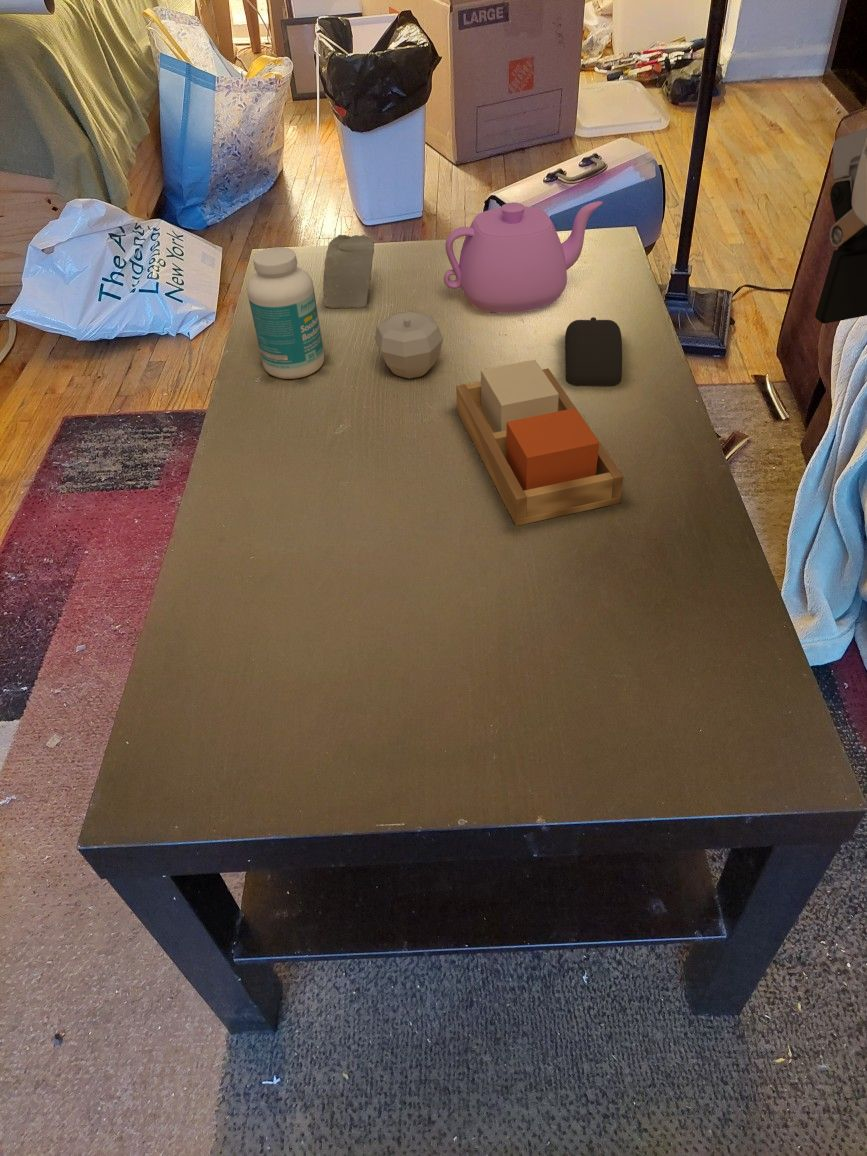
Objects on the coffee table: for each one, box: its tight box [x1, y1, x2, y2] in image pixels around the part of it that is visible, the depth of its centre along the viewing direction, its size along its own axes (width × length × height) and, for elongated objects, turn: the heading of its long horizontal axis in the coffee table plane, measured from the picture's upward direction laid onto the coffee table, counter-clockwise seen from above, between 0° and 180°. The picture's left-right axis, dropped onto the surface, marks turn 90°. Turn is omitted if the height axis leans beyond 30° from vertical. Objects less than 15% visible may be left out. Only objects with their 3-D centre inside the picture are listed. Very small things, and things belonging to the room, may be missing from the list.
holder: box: [455, 367, 625, 527], centre depth 85 cm, size 10×20×3 cm, turn 15°
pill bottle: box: [246, 246, 325, 380], centre depth 96 cm, size 8×7×14 cm
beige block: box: [480, 359, 559, 433], centre depth 87 cm, size 6×7×5 cm
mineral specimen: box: [322, 234, 375, 309], centre depth 110 cm, size 7×9×8 cm
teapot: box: [443, 200, 604, 314], centre depth 106 cm, size 20×13×12 cm, turn 97°
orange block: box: [506, 408, 599, 491], centre depth 80 cm, size 7×6×5 cm
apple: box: [374, 310, 444, 380], centre depth 97 cm, size 8×8×7 cm
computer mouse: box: [564, 316, 623, 387], centre depth 97 cm, size 6×11×4 cm, turn 174°
